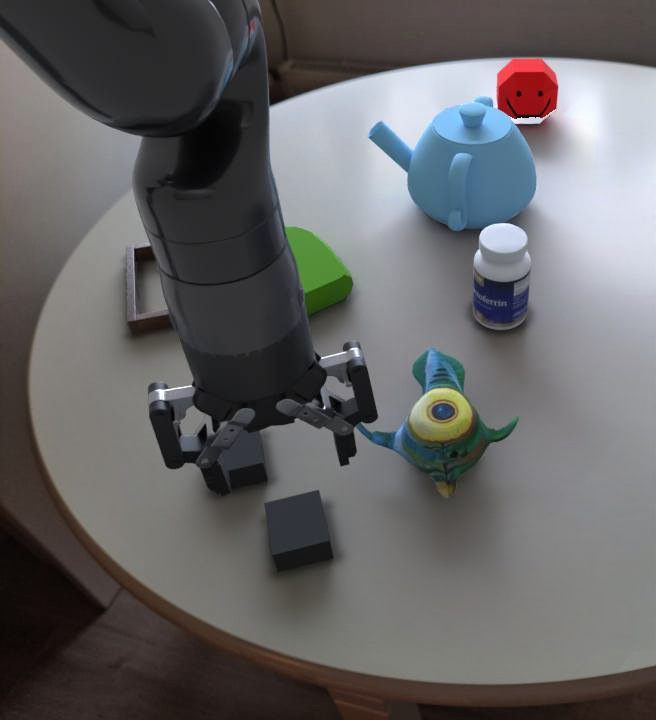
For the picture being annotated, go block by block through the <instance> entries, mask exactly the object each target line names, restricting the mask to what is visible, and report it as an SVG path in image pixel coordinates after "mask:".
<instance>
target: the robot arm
mask: <svg viewBox="0 0 656 720" xmlns="http://www.w3.org/2000/svg"><path fill="white" fill-rule="evenodd" d="M265 31H266V30H265V25H264V20H263V13H262V10H261V6H260V3H259V0H0V41H1V43H2V44H4V45H5V46H6V48H7V49H9V50H10V52H12V53H13V54H14V55H15V56H16V57H17V58H18V59H19V60H20V61H21V62H22V63H23V64H24V65H25V66H26V67H27V68H28V69H29V70H30V71H31V72H32V73H33V74H34V75H35V76H36V77H38V79H39V80H40V81H42V82H43V83H44V85H46V86H47V87H48V88H49V89H50V90H51V91H52V92H54V93H55V94H56V95H57V96H58V97H60V98H61V99H62V100H64V101H65V103H68V104H69V105H70V106H72V107H73V108H75V109H76V110H77V111H79V112H81V113H83V114H84V115H86V116H87V117H89V118H90V119H92V120H94V121H96V122H98V123H101V124H103V125H104V126H107V127H109V128H111V129H115V130H117V131H120V132H122V133H126V134H128V135H133V136H137V137H141V140H140V142H139V143H140V144H139V147H138V151H137V154H136V158H135V161H134V164H133V168H132V173H131V185H132V192H133V197H134V200H135V201H134V202H135V204H136V207H137V211H138V215H139V217H140V220H141V223H142V226H143V228H144V231H145V234H146V237H147V240H148V242H150V245H151V248H152V251H153V253H154V256H155V259H154V260H155V261H156V265H157V268H158V275H159V282H160V286H161V291H162V295H163V299H164V302H165V305H166V308H167V309H168V316H169V319H170V321H171V323H172V326H173V327H172V328H173V329H174V330H175V332H176V334H177V338H178V341H179V343H180V345H181V348H182V351H183V353H184V357H185V360H186V362H187V365H188V368H189V371H190V373H191V376H192V379H193V380H192V382H191V385H187V386H181V387H174V388H170V389H169V386H168V384H167V383H166V382H163V381H154V382H151V383H150V384H149V385H148V387H147V400H148V401H147V402H148V403H147V404H148V418H149V420H150V423H151V427H152V429H153V433H154V436H155V438H156V441H157V444H158V447H159V450H160V453H161V457H162V460H163V462H164V465H165V467H166V468H167V469H169V470H179V469H182V468H183V467H184V466H185V464H193V465H195V466H196V467H197V468H199V470H200V473H201V475H202V477H203V480H204V482H205V484H206V487H207V489H209V490H210V491H212V492H215V490H219V492H220V493H219V495H220V496H221V497H223V496H227V495H231V494H232V490H231V486H230V478H229V472H228V469H227V466H226V463H225V460H224V458H223V455H222V452H223V450H229V449H230V447H231V446H232V444H233V443H234V441H235V440H236V439H237V437H238V436H239V434H240V433H241V431H242V430H247V431H248V433H252V432H256V431H262V430H266V429H268V428H270V427H275V426H276V427H277V426H286V425H291V424H295V423H296V421H295V420H297V419H298V420H300V421H302V422H304V423H306V424H308V425H310V426H311V427H314V428H316V429H317V430H321V429H323V428H325V429H327V430H329V431H331V432H332V436H333V441H334V447H335V450H336V455H337V458H338V464H339V467H345V466H349V465H350V464H351V463H350V458H354V457H356V455H357V452H358V449H357V443H356V436H355V428H356V425H357V424H359V423H361V424H362V423H363V424H365V425H367V424H368V425H369V424H373V423H375V422H376V421H377V420H378V418H379V413H378V409H377V405H376V400H375V396H374V391H373V387H372V383H371V382H372V381H371V377H370V373H369V369H368V366H367V362H366V359H365V356H364V353H363V350H362V349H363V348H362V347H361V343H360V342H359V341H358V340H355V339H354V340H353V339H350V340H348V341H346V342H345V343H343V345H342V352H339V353H334V354H331V355H327V356H324V357H323V356H321V355H320V354H319V353H318V352H316V351H315V347H314V341H313V338H312V337H313V336H312V331H311V326H310V323H309V322H310V321H309V315H308V316H307V311H306V306H305V301H304V300H305V294H304V289H303V286H302V284H301V281H300V276H299V271H298V267H297V263H296V260H295V257H294V254H293V251H292V249H291V246H290V244H289V241H288V237H287V234H286V231H285V227H286V225H285V221H284V217H283V211H282V205H281V201H280V196H279V191H278V186H277V182H276V179H275V175H274V172H273V168H272V163H271V151H270V150H271V148H270V146H271V145H270V142H271V141H270V136H271V135H270V127H271V126H270V125H271V123H270V122H271V121H270V119H271V118H270V117H271V115H270V89H269V87H270V86H269V67H268V64H269V63H268V52H267V51H268V50H267V40H266V33H265ZM328 377H334V378H336V379H337V381H338V382H339V383H340V384H344V385H345V386H344V387H346V388H351V389H352V393H353V396H352V397H350V398H348V399H344V398H342V397H341V396H338V395H337V394H335V393H333V392H331V391H330V390H329V389H328V388H327V386H326V385H325V384H326V382H327V381H328V380H327V379H328ZM191 407H195V409H196V410H198V412H201V413H202V414H204V418H203V420H202V422H201V423H200V424H199V425H198V427H197V428H196V430H195V431H194V433H193V435H184V434H183V431H182V428H181V424H182V423H181V421H182V420H184V419H185V418H186V415H187V410H188V409H189V408H191Z"/></svg>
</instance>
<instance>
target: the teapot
mask: <svg viewBox="0 0 656 720" xmlns="http://www.w3.org/2000/svg"><path fill="white" fill-rule="evenodd" d="M366 136H367V138H368V139H369V140H370V141H371V142H373V143H374V145H376V146H377V147H378V148H379V149H380V150H381V151H382V152H383V153H385V154H386V155H387V156H388V157H389V158H390V159H391V160H392V161H393V162H394V163H395V164H397V165H398V166H399V167H400V168H401V169H402V170H403V171H404V172H406V173H407V179H406V180H407V181H406V182H407V184H406V186H407V191H408V193H409V196H410V198H411V199H412V201H413V203H414V204H415V205H416V206H417V207H419V209H420V210H421V211H423V212H424V213H425V214H426V215H427V216H429V217H430V218H432V219H433V220H435V221H437V222H439V223H441V224H443V225H446V226H447V227H448V228H449V229H450V230H452V231H454V232H460V231H463V230H464V229H466V230H467V229H469V230H470V229H473V230H476V229H477V230H478V229H485V228H486V227H488V226H490V225H493V224H499V223H506V222H508V221H510V220H511V219H513V218H514V217H516V216H517V215H519V214H520V213H521V212H522V211H523V210H524V209H525V208H527V207H528V205H529V204H530V203H531V201H532V200H533V198H534V196H535V194H536V190H537V181H538V180H537V178H538V177H537V172H536V171H537V169H536V163H535V160H534V156H533V154H532V151H531V149H530V146H529V144H528V142H527V141H526V138H525V137H524V135H523V134H522V132H521V131H520V129H519V128H518V126H517V125H515V123H514V122H513V121H512V120H511V118H510V117H509V116H508V115H507V114H505V113H504V112H502V111H501V110H498V108H496V107H494V100H493V98H491V97H490V96H489V95H483V94H481V95H477V96H476V97H475V98H474V100H473V101H468V102H465V103H462V104H458V105H454V106H450V107H448V108H445V109H444V110H442V111H440V112H438V113H437V114H436V115H435V116H434V117H433V119H432V120H431V121H430V122H429V123H428V125H427V126H426V127H425V130H424V131H423V132H422V134H421V136H420V137H419V139H418V141H417V142H416V144H415V146H414V148H413V149H412V148H411V147H410V146H409V145H408V144H407V143H406V142H405V141H404V140H403V139H402V138H401V137H400V136H398V134H396V133H395V131H393V130H392V129H391V128H390V126H388V125H387V124H386V123H385V122H384V121H383V120H380V121H378V122H376V124H374V125H373V126H372V127H371V129H370V130H369V131H368V133H367V135H366Z"/></svg>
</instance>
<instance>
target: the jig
mask: <svg viewBox="0 0 656 720" xmlns="http://www.w3.org/2000/svg"><path fill="white" fill-rule="evenodd" d="M150 260H156V259H155V256H154V253H153V251H152V248H151V245H150V242H149V241H147V242H142V243H135V244H129V245H126V246H125V267H126V268H125V269H126V271H125V272H126V277H125V279H126V323H127V326H128V328H129V330H130V332H131V335H132V336H133V335H139V334H144V333H149V332H155V331H160V330H165V329H169V328H170V329H171V328H174V327H173V326H172V323H171V321H170V319H169V316H168V308H167V309H163V310H162V309H161V310H156V311H152V312H151V311H150V312H146V313H141V307H140V282H139V281H140V276H139V274H140V273H139V262H143V261H150Z"/></svg>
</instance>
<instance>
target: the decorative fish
mask: <svg viewBox="0 0 656 720" xmlns="http://www.w3.org/2000/svg"><path fill="white" fill-rule="evenodd" d="M411 370H412V371H411V373H412V376H413V378H414V379H415V380H416V381H417V383H418V384H419V385H420V387H421V388H422V394H421V396H420V397H419V399H417V401H415V403H414V404H413V405H412V407H411V408H410V410H409V412H407V413H408V414H407V416H406V417H405V419H404V422H403V423H402V425H401V426H400V427H399V428H398V429H396V430H394V431H393V430H392V431H380V430H374V431H372V432H371V431H369V430H368V429H367V428H366V427H365V426H364V425H363V424H362V422H361V423H359V424H357V425H356V426H355V428H356V429H357V430H358V432H360V433H361V434H362V436H363V437H365V438H366V439H367V440H369V441H370V442H371V443H374V444H375V445H377V446H379V447H383V448H386V449H389V450H391V451H394V452H395V453H397V454H398V455H400V456H401V457H402V458H403V460H405V461H406V462H407V463H409V464H410V465H411V466H413V467H414V468H416V469H417V470H418V471H419V472H421V473H423V474H424V475H426V476H427V477H429V478H431V479H432V481H433V482H434V485H435V487H436V489H437V492H438V493H439V495H440V496H441V497H443V498H444V499H449V498H451V497H452V496H453V495H454V494H455V493H456V491H457V482H458V479H459V478H460V477H461V476H462V475H464V474H466V473H467V472H468V471H470V470H471V469H472V468H474V467H475V465H476V464H477V463H478V462H479V461H480V459H481V458H482V456H483V455H484V454H485V452H486V451H487V449H488V447H489V446H490V444H493V443H499V442H502V441H504V440H505V439H507V438H508V437H509V436H510V435H511V434H512V433H513V432H514V430H515V428H516V427H517V425H518V423H519V420H520V416H519V415H515V416H514V417H513V418H512V419H511V420H510V421H509V422H508V423H507V424H506V425H505V426H503V427H501V428H499V429H495V428H494V427H493V428H491V427H488V426H487V424H485V423H484V421H483V419H482V418H481V416H480V414H479V412H478V411H477V408H475V406H474V405H473V403H472V402H471V400H470V399H469V398H468V396H466V394H465V389H464V387H465V378H466V371H465V368H464V365H463V364H462V362H460V360H459V359H457V358H456V357H453V356H451V355H449V354H446V353H444V352H442V351H440V350H439V349H435V348H434V347H433V346H429V347H428V349H427V350H426V351H425V352H423V353H422V354H421V355H420V356H419V357H418V358H417V359H416V360H415V361H414V363H413V365H412V369H411Z"/></svg>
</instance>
